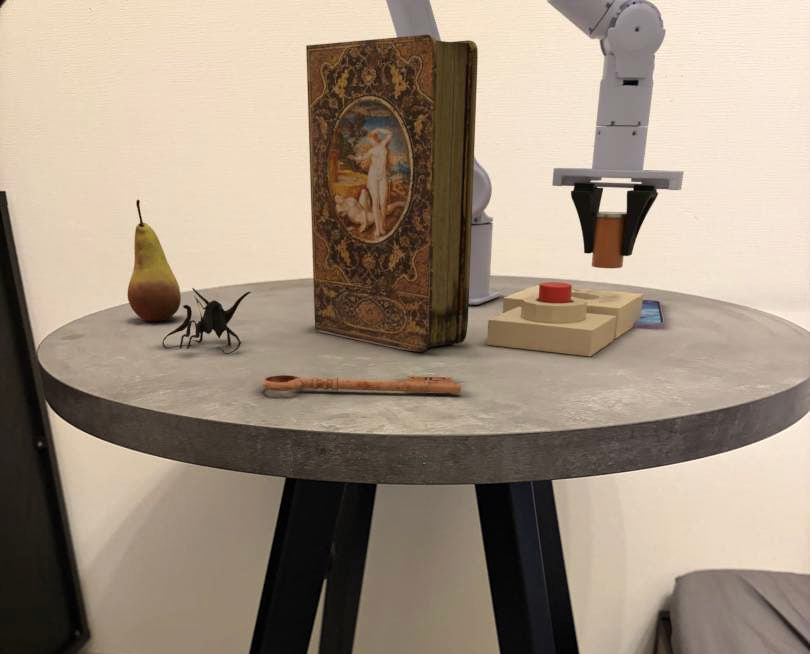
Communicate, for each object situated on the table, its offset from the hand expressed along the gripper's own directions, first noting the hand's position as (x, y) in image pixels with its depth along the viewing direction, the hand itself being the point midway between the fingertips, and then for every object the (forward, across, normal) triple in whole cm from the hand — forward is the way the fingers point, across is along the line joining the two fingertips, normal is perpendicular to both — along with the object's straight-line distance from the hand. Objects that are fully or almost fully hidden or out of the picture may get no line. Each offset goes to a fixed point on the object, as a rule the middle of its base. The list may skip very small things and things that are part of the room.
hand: (608, 254), depth 103 cm
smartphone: (+6, -5, +7) cm, 10 cm away
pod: (+1, 0, 0) cm, 1 cm away
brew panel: (+6, -2, +26) cm, 27 cm away
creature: (+6, +25, +44) cm, 51 cm away
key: (+6, +5, +50) cm, 50 cm away
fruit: (+6, +38, +36) cm, 53 cm away
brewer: (+6, -1, +16) cm, 17 cm away
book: (+6, +13, +32) cm, 35 cm away
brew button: (+2, -2, +26) cm, 26 cm away
